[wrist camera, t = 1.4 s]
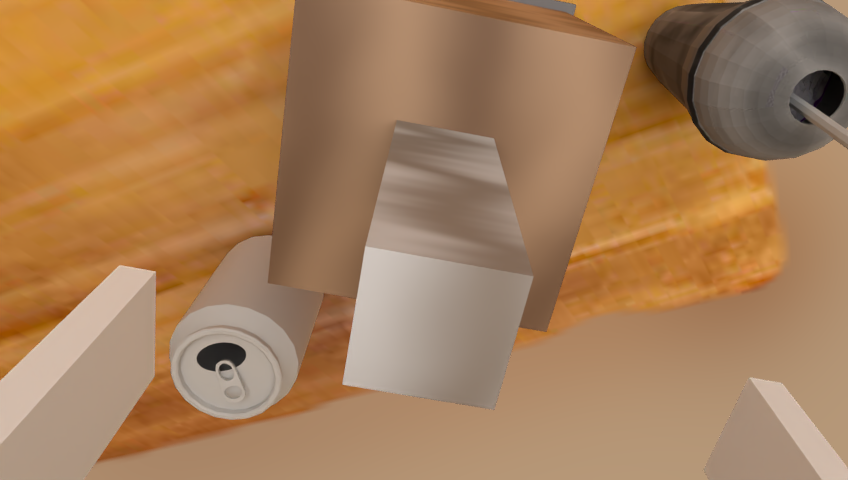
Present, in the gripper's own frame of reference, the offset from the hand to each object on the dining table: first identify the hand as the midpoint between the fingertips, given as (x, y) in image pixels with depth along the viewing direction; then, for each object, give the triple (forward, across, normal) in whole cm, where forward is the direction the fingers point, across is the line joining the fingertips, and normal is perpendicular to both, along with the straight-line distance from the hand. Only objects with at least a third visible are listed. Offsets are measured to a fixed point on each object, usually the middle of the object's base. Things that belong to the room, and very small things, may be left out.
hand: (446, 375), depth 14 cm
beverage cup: (+29, +14, +6) cm, 33 cm away
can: (+29, -10, -15) cm, 34 cm away
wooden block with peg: (+29, 0, 0) cm, 29 cm away
